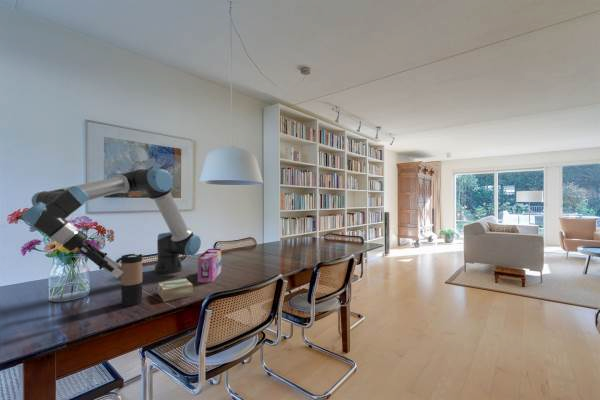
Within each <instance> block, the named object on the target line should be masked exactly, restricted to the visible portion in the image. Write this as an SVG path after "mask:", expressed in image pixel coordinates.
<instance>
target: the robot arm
mask: <svg viewBox="0 0 600 400" xmlns="http://www.w3.org/2000/svg"><path fill="white" fill-rule="evenodd" d="M173 183H174V179H173V177H172V175H171V174H170V172H168V171H167V170H166V169H163V168H157V167H154V168H143V169H142V168H141V169H140V168H139V169H135V170H131V171H128V172H124V173H120V174H116V176H114V177H111V178H107V179H101V180H96V181H91V182H87V183H82V184H77V185H73V186H68V187H62V188H57V189H53V190H49V191H47V190H45V191H39V192H36V193H35V194H33V196H32V198H31V204H32V206H31V207H30V208H29V209H27V210H26V211H25V212H23V214H22V215H21V218H22V219H23V220H24V221H25V222H27V224H29V225H30V226H31V227H33V228H35V229H37V230H38V231H39V232H41V233H43V234H44V235H46V236H48V237H49V238H50V239H51V242H56V243H57V244H58V245H62V247H63V248H65V249H66V250H67V251H69V252H73V251H74V250H76V249H78V252H79V253H80V254H82V255H83V256H85V257H86V258H88V259H89V261H92V262H93V263H94V264H95V265H97V266H98V269H99V270H102V269H103V270H104V271H106V272H107V273H109V274H110V275H112V276H113V277H115V278H116V279H118V278H119V277H121V274H122V273H123V272H122V271H121V269H120V268H119V267H121V265H120V264H119V263H118V262H116V261H115V260H114V259H112V258H110V256H108V253H107V252H103V251H102V250H99V249H98V248H97V247H95V246H94V245H92V244H91V243H90V242H88V241H87V239H88V235H87V234H86V233H84V232H83V231H82V230H79V228H78V227H77V226H75V225H74V224H73V223H71V222H70V221H68V220H67V218H68V217H69V216H71V215H72V214H73V213H74V212H75V211H77V210H78V209H79V208H80V207H82V206H84V204H85V203H87V202H88V201H92V200H96V199H99V198H104V197H108V196H110V195H114V194H118V193H122V194H126V193H133V192H142V193H144V192H146V194H147V196H148V198H149V199H150V200H152V201H153V200H154V201H153V202H155V204H156V206H157V209H158V210H159V212H160V213H161V216H162V219H164V221H165V224H166V226H167V227H168V229H169V232H161V233H158V235H157V240H156V241H157V243H156V245H157V260H156V262H155V265H154V269H153V271H154V273H155V274H160V275H164V274H172V273H173V274H174V273H177V272H180V271H182V270H183V264H182V261H181V258H180V256H187V257H188V256H195V255H196V254H197V253H198V252H199V250H200V248H201V244H202V241H201V237H200V236H198V235H197V234H194V233H193V230H192V229H191V228H188V227H187V224H186V223H185V221H184V218H183V216H182V214H181V212H180V210H179V208H178V206H177V203H176V201H175V200H174V198H173V195H172V191H173V185H174V184H173Z"/></svg>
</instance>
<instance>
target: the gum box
mask: <svg viewBox="0 0 600 400" xmlns="http://www.w3.org/2000/svg"><path fill="white" fill-rule="evenodd" d="M197 259H198V261H197V262H198V263H197V283H213V282H214V281H215V280H216V278H217V277H218V276H219V275H220V273H221V272H222V248H208V249H207V250H205V251H204V252H202V253H201V254H200V255H199V256H198V257H197Z"/></svg>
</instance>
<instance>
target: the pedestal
mask: <svg viewBox="0 0 600 400" xmlns="http://www.w3.org/2000/svg"><path fill="white" fill-rule="evenodd" d="M193 288H194V285H193V283H191V282H190V281H189V280H188V279H187V278H178V279H175V280H166V281H161V282H160V281H159V282H158V283H157V295H158V296H159V297H160V299H161V300H162V302H168V301H169V302H170V301H172V300H173V301H174V300H179V299H183V298H187V297H188V298H189V297H192V296H194V289H193Z"/></svg>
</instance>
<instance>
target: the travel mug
mask: <svg viewBox="0 0 600 400" xmlns="http://www.w3.org/2000/svg"><path fill="white" fill-rule="evenodd" d="M120 264H121V265H120V270H121V271H122V272H123V273H122V274H121V275H120V290H121V293H120V294H121V306H122V307H133V306H138V305H139V304H141V303H142V302H143V254H141V253H140V254H135V253H128V254H123V255H121V257H120Z"/></svg>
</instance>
